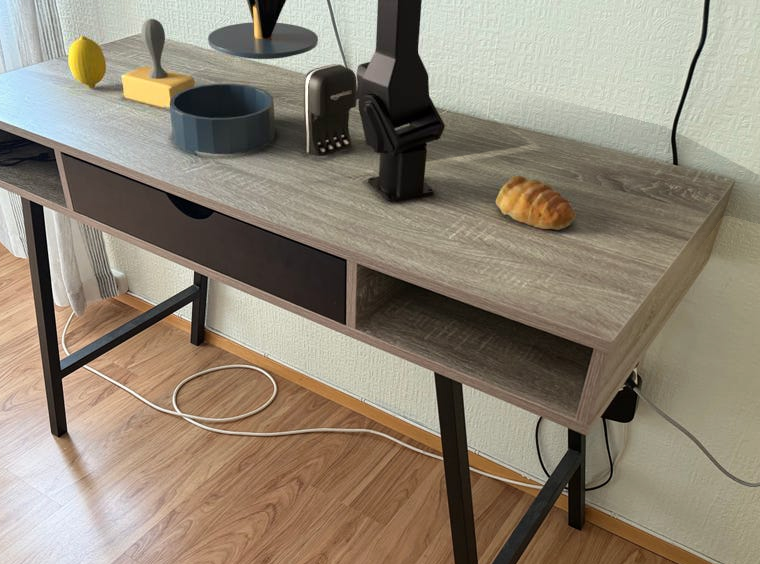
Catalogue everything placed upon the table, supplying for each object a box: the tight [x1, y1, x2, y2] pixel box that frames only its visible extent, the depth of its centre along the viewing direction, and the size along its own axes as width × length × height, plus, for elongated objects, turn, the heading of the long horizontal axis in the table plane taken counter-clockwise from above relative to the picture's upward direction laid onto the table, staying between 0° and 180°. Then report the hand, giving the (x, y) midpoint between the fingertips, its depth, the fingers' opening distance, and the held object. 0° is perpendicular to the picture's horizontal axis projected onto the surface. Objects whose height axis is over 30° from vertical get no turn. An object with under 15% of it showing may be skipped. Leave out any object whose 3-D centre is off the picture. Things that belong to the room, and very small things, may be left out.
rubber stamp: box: [121, 18, 196, 109], centre depth 124 cm, size 10×6×12 cm, turn 60°
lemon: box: [67, 35, 107, 89], centre depth 129 cm, size 6×6×8 cm
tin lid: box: [207, 5, 319, 60], centre depth 111 cm, size 15×15×5 cm
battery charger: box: [303, 63, 358, 157], centre depth 109 cm, size 7×4×11 cm, turn 132°
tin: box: [169, 83, 276, 156], centre depth 115 cm, size 14×14×5 cm
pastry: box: [495, 175, 576, 231], centre depth 98 cm, size 9×7×4 cm
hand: (263, 35), depth 112 cm, fingers closed on tin lid, 2 cm apart
